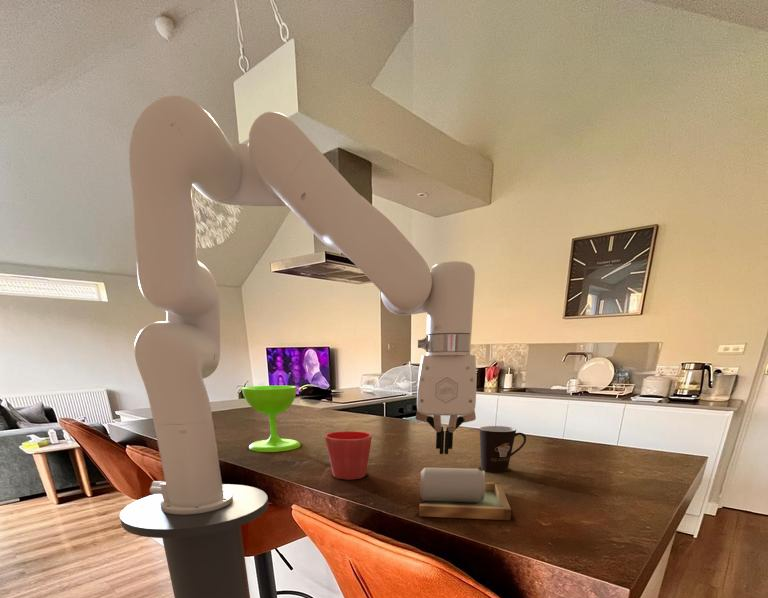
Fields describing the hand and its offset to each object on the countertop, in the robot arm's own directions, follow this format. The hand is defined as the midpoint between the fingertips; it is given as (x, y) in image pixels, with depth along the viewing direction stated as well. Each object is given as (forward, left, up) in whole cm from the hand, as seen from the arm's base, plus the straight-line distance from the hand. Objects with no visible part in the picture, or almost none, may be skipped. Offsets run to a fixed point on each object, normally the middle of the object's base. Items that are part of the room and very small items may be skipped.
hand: (443, 452), depth 78 cm
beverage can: (-4, 0, -6) cm, 8 cm away
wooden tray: (+4, 0, -10) cm, 10 cm away
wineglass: (-53, +48, -10) cm, 72 cm away
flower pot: (-22, +17, -10) cm, 29 cm away
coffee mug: (+14, +27, -10) cm, 32 cm away
